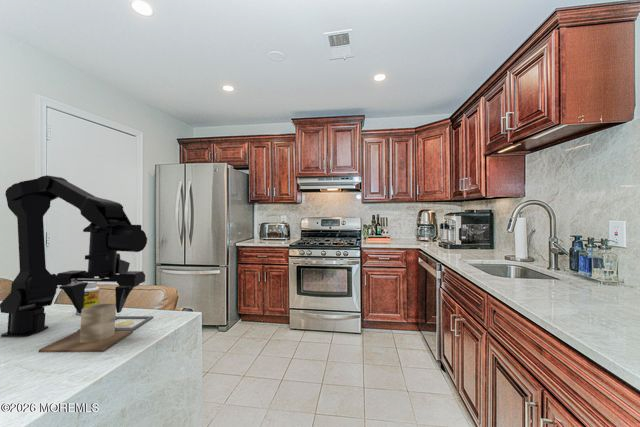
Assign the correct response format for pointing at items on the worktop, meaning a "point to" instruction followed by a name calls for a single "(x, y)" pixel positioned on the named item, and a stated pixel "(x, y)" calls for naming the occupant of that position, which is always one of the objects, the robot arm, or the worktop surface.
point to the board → (74, 345)
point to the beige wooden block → (97, 323)
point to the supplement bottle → (90, 295)
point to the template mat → (147, 318)
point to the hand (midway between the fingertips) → (99, 312)
